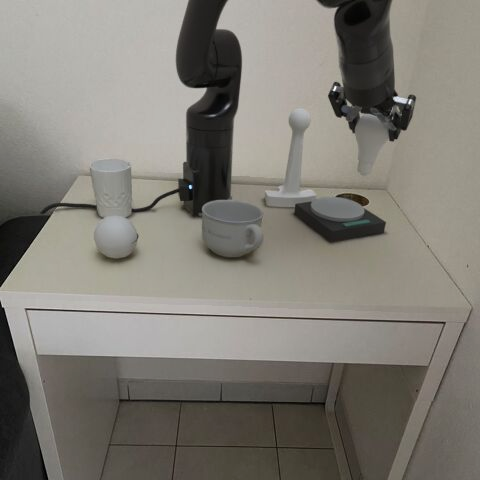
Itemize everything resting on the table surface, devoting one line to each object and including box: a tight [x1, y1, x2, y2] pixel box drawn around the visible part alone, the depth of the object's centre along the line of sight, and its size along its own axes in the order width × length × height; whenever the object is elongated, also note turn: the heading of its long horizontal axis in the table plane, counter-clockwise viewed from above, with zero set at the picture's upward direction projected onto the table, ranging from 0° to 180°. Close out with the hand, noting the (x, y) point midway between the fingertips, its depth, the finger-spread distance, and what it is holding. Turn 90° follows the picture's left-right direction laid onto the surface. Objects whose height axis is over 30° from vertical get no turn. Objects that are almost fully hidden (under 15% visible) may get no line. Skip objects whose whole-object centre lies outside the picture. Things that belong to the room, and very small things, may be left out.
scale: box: [293, 196, 387, 243], centre depth 102 cm, size 13×14×3 cm
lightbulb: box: [354, 114, 389, 177], centre depth 87 cm, size 6×6×11 cm
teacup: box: [201, 199, 264, 258], centre depth 87 cm, size 14×11×8 cm
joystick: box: [263, 107, 317, 208], centre depth 106 cm, size 11×8×20 cm
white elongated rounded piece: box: [93, 215, 139, 259], centre depth 86 cm, size 10×7×7 cm
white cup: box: [88, 157, 133, 219], centre depth 98 cm, size 8×8×10 cm
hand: (374, 132), depth 87 cm, fingers closed on lightbulb, 6 cm apart
